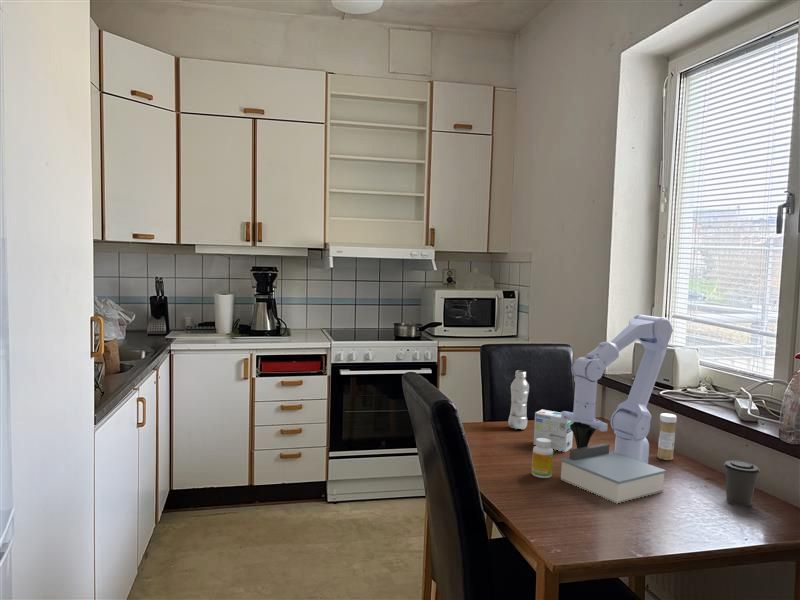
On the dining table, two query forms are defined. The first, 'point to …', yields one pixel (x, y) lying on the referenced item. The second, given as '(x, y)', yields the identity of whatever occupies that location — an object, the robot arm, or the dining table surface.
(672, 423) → the sprinkles bottle
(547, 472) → the supplement bottle
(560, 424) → the light bulb box
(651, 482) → the white square shallow box
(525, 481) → the dining table surface
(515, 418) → the plastic bottle
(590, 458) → the lid
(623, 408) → the robot arm
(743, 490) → the coffee cup
